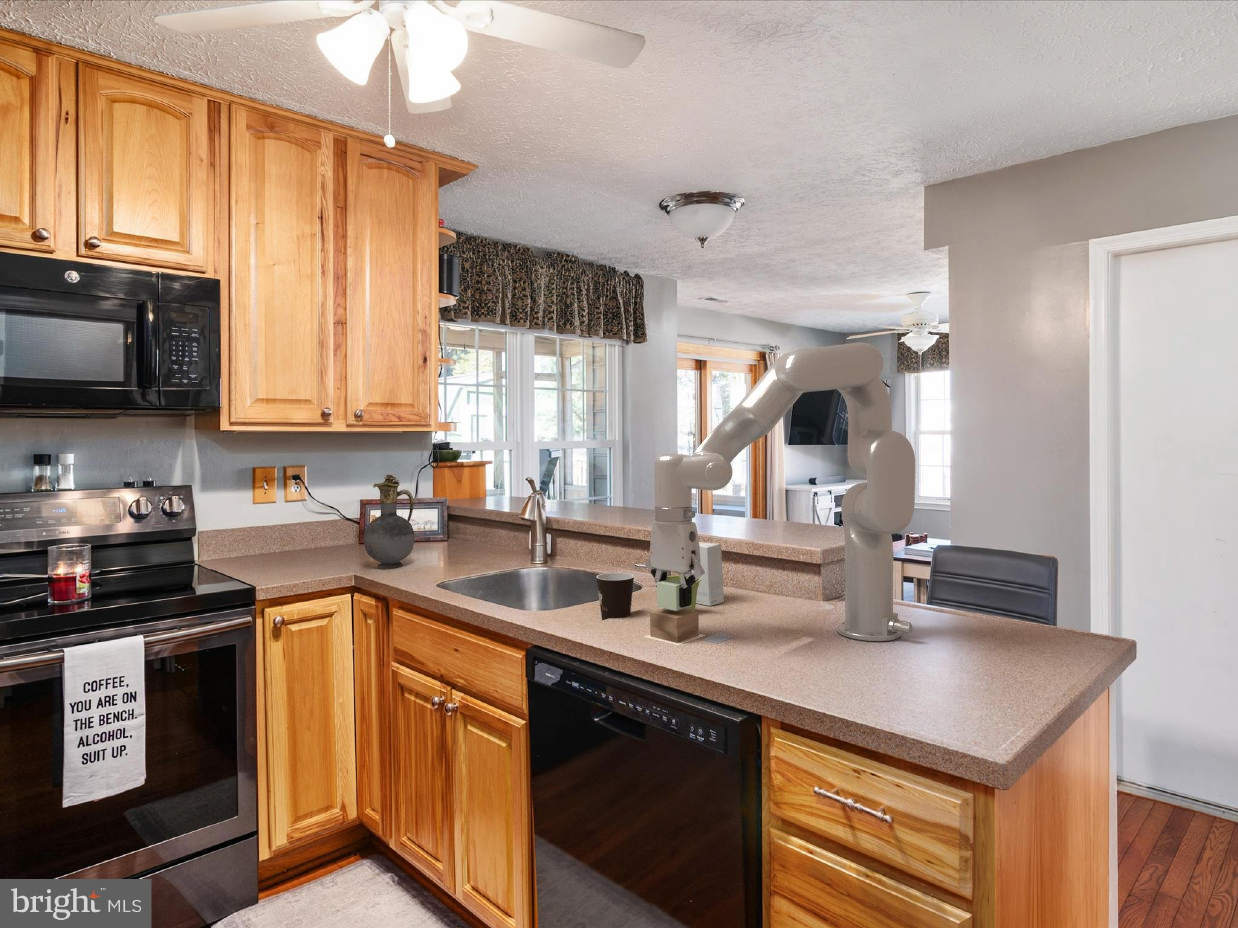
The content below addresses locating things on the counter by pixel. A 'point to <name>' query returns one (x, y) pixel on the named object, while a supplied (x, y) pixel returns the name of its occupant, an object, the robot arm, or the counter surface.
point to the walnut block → (674, 624)
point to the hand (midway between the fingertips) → (674, 603)
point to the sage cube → (669, 594)
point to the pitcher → (390, 528)
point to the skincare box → (710, 575)
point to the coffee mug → (615, 594)
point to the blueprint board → (714, 638)
